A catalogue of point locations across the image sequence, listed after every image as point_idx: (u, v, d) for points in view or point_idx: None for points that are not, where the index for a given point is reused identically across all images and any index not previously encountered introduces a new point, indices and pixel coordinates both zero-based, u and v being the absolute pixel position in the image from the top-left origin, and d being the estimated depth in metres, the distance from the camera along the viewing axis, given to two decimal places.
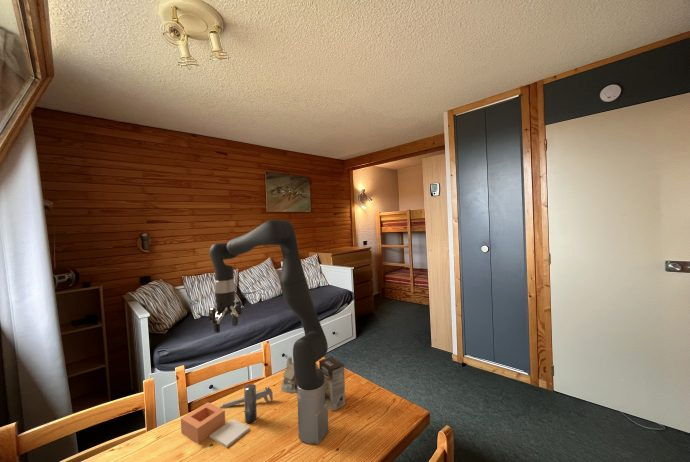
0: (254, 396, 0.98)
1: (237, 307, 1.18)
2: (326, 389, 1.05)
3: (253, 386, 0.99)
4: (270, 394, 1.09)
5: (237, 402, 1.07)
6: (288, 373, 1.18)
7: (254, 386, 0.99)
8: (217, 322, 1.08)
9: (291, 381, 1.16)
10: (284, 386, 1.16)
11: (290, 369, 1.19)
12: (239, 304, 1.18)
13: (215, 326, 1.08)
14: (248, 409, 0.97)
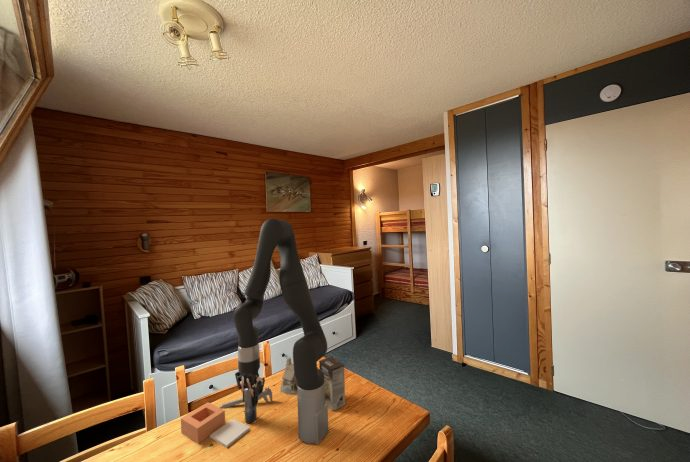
0: None
1: (241, 378, 1.01)
2: (326, 389, 1.05)
3: None
4: (270, 394, 1.09)
5: (237, 402, 1.07)
6: (287, 374, 1.17)
7: None
8: None
9: (290, 382, 1.15)
10: (283, 387, 1.16)
11: (289, 370, 1.18)
12: None
13: (256, 397, 0.97)
14: (248, 409, 0.97)
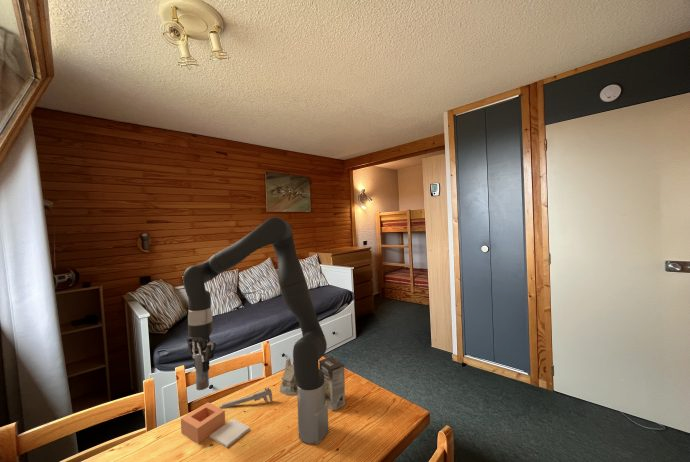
0: None
1: None
2: (326, 389, 1.05)
3: None
4: (270, 395, 1.09)
5: (237, 402, 1.07)
6: (287, 375, 1.16)
7: None
8: None
9: (290, 383, 1.14)
10: (283, 388, 1.15)
11: (288, 371, 1.17)
12: None
13: (207, 363, 0.94)
14: (198, 374, 0.93)
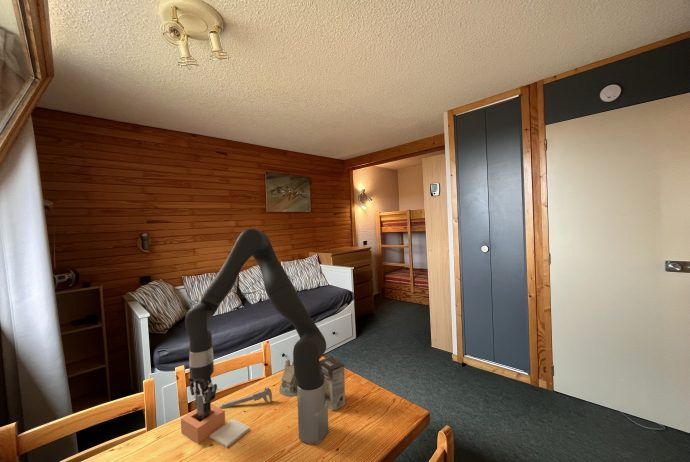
0: None
1: None
2: (326, 389, 1.05)
3: None
4: (269, 394, 1.09)
5: (236, 402, 1.07)
6: (286, 376, 1.15)
7: None
8: None
9: (289, 384, 1.13)
10: (282, 389, 1.14)
11: (288, 371, 1.16)
12: None
13: (209, 404, 0.94)
14: (199, 415, 0.93)
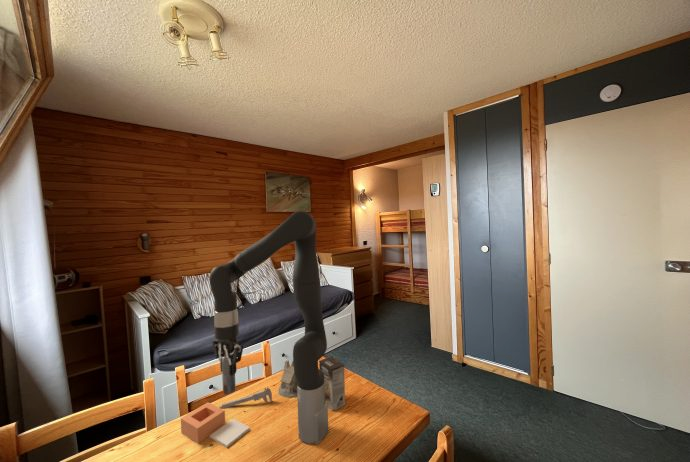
0: None
1: None
2: (326, 389, 1.05)
3: None
4: (269, 395, 1.09)
5: (236, 402, 1.07)
6: (286, 377, 1.15)
7: None
8: None
9: (289, 385, 1.13)
10: (282, 390, 1.13)
11: (287, 372, 1.16)
12: None
13: (234, 366, 0.91)
14: (225, 378, 0.90)
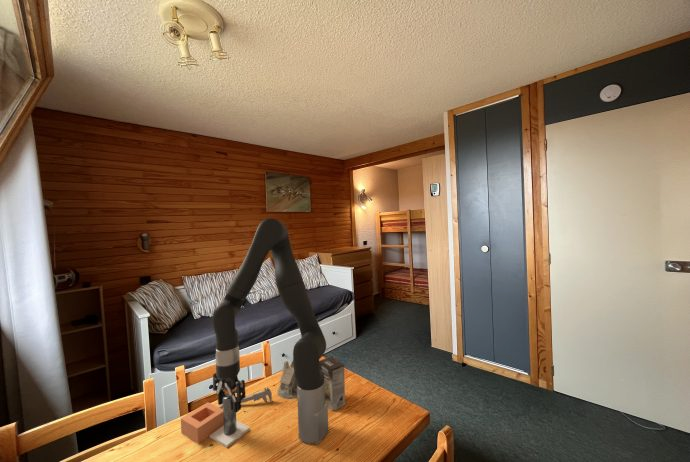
0: (233, 406, 0.92)
1: (219, 380, 0.96)
2: (326, 389, 1.05)
3: None
4: (269, 395, 1.08)
5: None
6: (285, 378, 1.14)
7: None
8: None
9: (288, 386, 1.12)
10: (281, 392, 1.12)
11: (286, 373, 1.15)
12: None
13: (239, 403, 0.90)
14: (226, 419, 0.90)
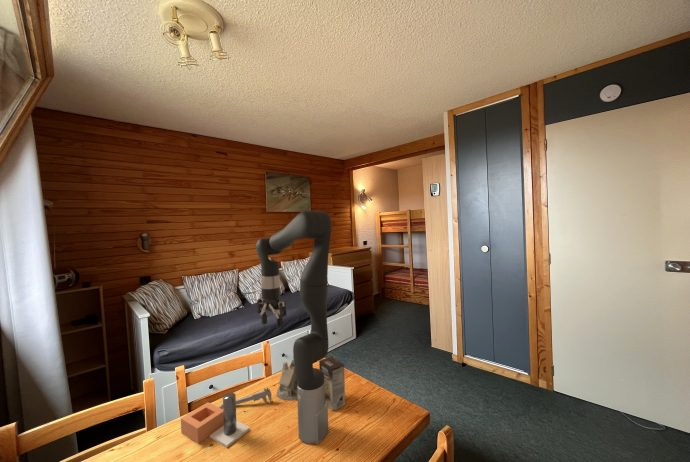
0: (233, 406, 0.91)
1: (262, 305, 1.15)
2: (326, 389, 1.05)
3: (233, 395, 0.92)
4: (269, 395, 1.08)
5: (236, 402, 1.07)
6: (284, 379, 1.13)
7: (234, 395, 0.93)
8: None
9: (287, 388, 1.11)
10: (280, 393, 1.11)
11: (286, 375, 1.14)
12: None
13: (281, 320, 1.09)
14: (226, 419, 0.90)
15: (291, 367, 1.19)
